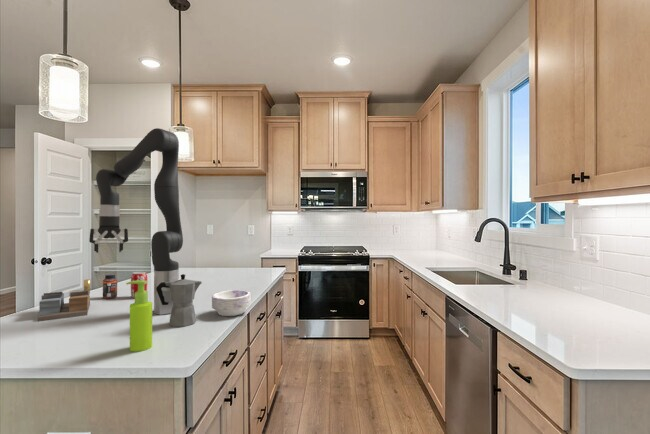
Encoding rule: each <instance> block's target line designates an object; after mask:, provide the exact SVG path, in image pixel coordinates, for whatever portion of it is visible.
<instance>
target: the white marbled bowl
mask: <svg viewBox="0 0 650 434" xmlns="http://www.w3.org/2000/svg"><path fill="white" fill-rule="evenodd" d="M251 300H252V299H251V292H250V291H247V290H243V289H241V290H240V289H238V290H237V289H232V290H224V291H223V290H222V291H220V292H216V293H214V294H212V295H211V309H213V310H216V312H217V313H218V315H220V316H222V317H236V316H239V315H242V314H244V313H245V311H246V309H247V308H249V307H250V306H251V303H252V301H251Z"/></svg>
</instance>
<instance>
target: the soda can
mask: <svg viewBox="0 0 650 434" xmlns="http://www.w3.org/2000/svg"><path fill="white" fill-rule="evenodd" d="M136 280H143V281H147V283H146V284H144V290H145V291H147V292H148V274H147V272H146V271H134V272H132V275H131V277H130V282H131V281H136ZM137 291H138V284H130V296H131V298H133V299H135V292H137Z"/></svg>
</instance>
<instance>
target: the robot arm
mask: <svg viewBox="0 0 650 434" xmlns="http://www.w3.org/2000/svg"><path fill="white" fill-rule="evenodd" d="M179 144H180V142H179V139H178V136H177V134H175V133H174V132H171V131H168V130H165V129H163V128H158V127H157V128H154V129H153V128H152V129H151V130H150V131H149V132H147V134H146V135H145V136H144V137H142V139H141V140H140V141H139V143H138V144H137V145H136V146H135V147H134V148H133V149H132V150H131V151H130V152H129V153H128V154H126V155H124V156H123V157H122V158H121V159H119V160H118V161H117V162H116V163H114V165H113V169H114V170H113V169H105V168H103V169H100V170H98V171H97V173H96V176H95V181H96V185H97V188H98V191H99V194H100V198H99V199H100V200H99V213H98V216H99V217H98V218H99V220H98V222H99V223H98V228H90V231H89V239H88V240H89V243H91V244H93V249H94V250H93V251H94V252H95V253H96V254H98V253H99V242H100V241H101V240H102V239H105V240H107V239H116V240H117V241H118V242H119V244H118V252H119V253H122V251H123V250H124V244H125V243H128V242H129V233H128V232H129V231H128V228H120V222H121V221H120V218H121V217H120V216H121V215H120V213H121V212H120V209H121V208H120V194H119V193H118V192H116V191H114V190H113V188H112V187H120V186H123V184H125V182H126V181H127V179H128V178H129V177H130V176H131V175H132V174H133V173H135V172H136V171H138V170H139V169H140V168H141V167H142V165H143V163H144V160H145V158H146V157H147V156H148V155H149V154H152V153H153V152H159V153H161V157H162V163H161V167H160V171H159V172H158V173H157V176H156V178H155V180H154V184H153V186H154V187H153V188H154V189H153V191H154V201H155V203H156V205H157V207H158V209H159V210H160V212H161V213H162V215H163V218H164V220H165V226H166V227H165V228H166V230H159V231H156V232H154V234H153V236H152V237H151V243H150V245H151V247H150V248H151V250H150V251H151V262H152V265H153V313H154V314H155V315H160V316H162V315H167V314H171V310H172V307H173V302H172V299H171V293H170V288H166V287H163V288H161V290H162V292H163V296H164V299H165V302H169V303H168V305H162V303H161V301H160V298H159V295H158V293H157V291H156V288H157V286H158V285H159V284H160V283H161V282H174V281H177V280H180V279H179V274H180V272H179V266H180V265H179V262H177V261H176V260H172V259H171V253H177V252H179V251H181V249H182V247H183V243H184V238H183V236H184V234H183V228H182V222H181V215H180V194H179V193H180V192H179V191H180V190H179V188H180V187H179V170H178V169H179V168H178V164H179V149H180V148H179V147H180V145H179ZM97 232H98V234H99V236H98V237H97V238H96V239H95V240H94V235H95V234H97ZM121 232H122V234H123V239H122V238H121V237H120V235H119V234H120V233H121Z"/></svg>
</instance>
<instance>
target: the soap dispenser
mask: <svg viewBox="0 0 650 434" xmlns="http://www.w3.org/2000/svg"><path fill="white" fill-rule="evenodd" d="M146 283H147V284H148V280H147V281H143V280H136V281H131V280H130V281H128V282H126V283H125V284H126V285H127V286H128V285H131V284H138V291H137V292H135V298H134V303H131V304H130V305H129V351H130V352H143V351H147V350H149V349H151V348H152V347H153V302H152V301H149V300H148V294H149V293H148V290H147V291H145V290H144V284H146Z"/></svg>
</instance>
